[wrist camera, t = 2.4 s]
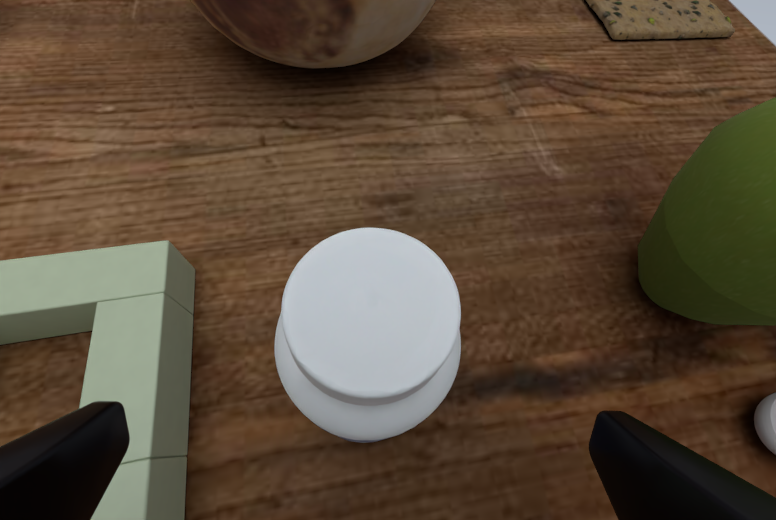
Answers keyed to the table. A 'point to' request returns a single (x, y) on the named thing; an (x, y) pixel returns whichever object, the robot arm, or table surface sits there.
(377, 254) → the pill bottle
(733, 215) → the apple
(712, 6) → the cookie
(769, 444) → the spoon
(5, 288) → the frame
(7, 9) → the table surface
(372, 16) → the clay pot
